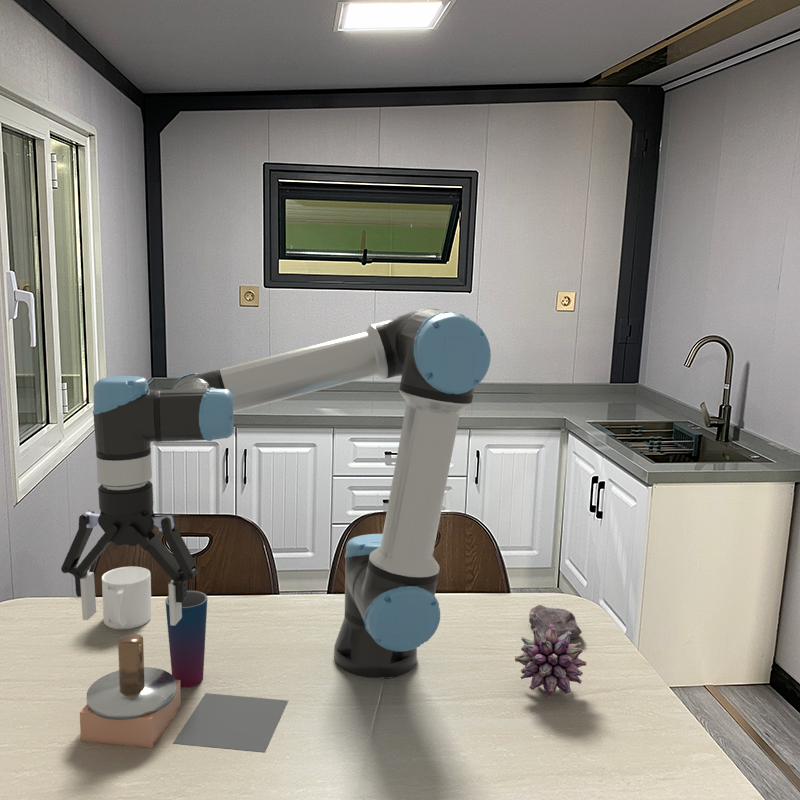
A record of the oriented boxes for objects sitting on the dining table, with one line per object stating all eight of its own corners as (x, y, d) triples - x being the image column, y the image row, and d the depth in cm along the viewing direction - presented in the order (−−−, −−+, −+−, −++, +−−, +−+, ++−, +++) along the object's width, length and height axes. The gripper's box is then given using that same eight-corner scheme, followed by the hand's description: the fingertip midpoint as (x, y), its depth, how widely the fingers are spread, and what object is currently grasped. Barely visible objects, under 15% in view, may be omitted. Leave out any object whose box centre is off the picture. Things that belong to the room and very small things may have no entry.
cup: (197, 694, 132) (196, 609, 129) (159, 689, 133) (157, 604, 130) (215, 674, 138) (214, 593, 136) (178, 669, 140) (177, 588, 137)
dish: (180, 708, 127) (180, 680, 127) (152, 750, 117) (151, 718, 116) (115, 702, 128) (114, 674, 128) (81, 743, 118) (79, 712, 117)
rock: (554, 616, 165) (556, 596, 165) (586, 641, 155) (588, 620, 154) (520, 622, 162) (521, 601, 162) (550, 648, 152) (552, 626, 151)
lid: (189, 677, 127) (188, 623, 126) (155, 723, 115) (154, 664, 113) (111, 670, 129) (109, 617, 127) (70, 715, 116) (67, 657, 114)
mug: (116, 608, 163) (114, 565, 161) (158, 611, 162) (157, 568, 160) (87, 635, 151) (85, 588, 149) (133, 638, 150) (131, 592, 148)
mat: (288, 702, 130) (288, 700, 130) (264, 754, 116) (264, 752, 116) (205, 695, 132) (205, 693, 131) (172, 745, 118) (172, 743, 118)
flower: (561, 721, 127) (566, 652, 125) (499, 692, 135) (503, 627, 133) (597, 694, 136) (602, 629, 134) (537, 668, 144) (541, 606, 142)
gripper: (217, 479, 118) (221, 612, 122) (57, 472, 121) (66, 603, 125) (199, 493, 111) (204, 635, 115) (30, 486, 113) (40, 625, 117)
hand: (132, 619), depth 120 cm, fingers open, 13 cm apart
